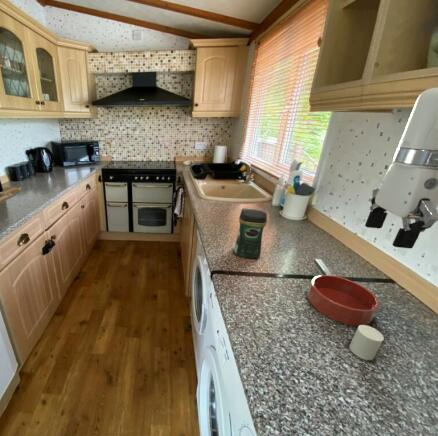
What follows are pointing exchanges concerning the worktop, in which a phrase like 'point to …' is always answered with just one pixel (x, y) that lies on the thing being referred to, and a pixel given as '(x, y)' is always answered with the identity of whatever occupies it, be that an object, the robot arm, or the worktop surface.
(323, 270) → the pan handle
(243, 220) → the coffee jar
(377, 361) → the worktop surface
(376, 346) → the pale grey cylinder
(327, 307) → the pan
